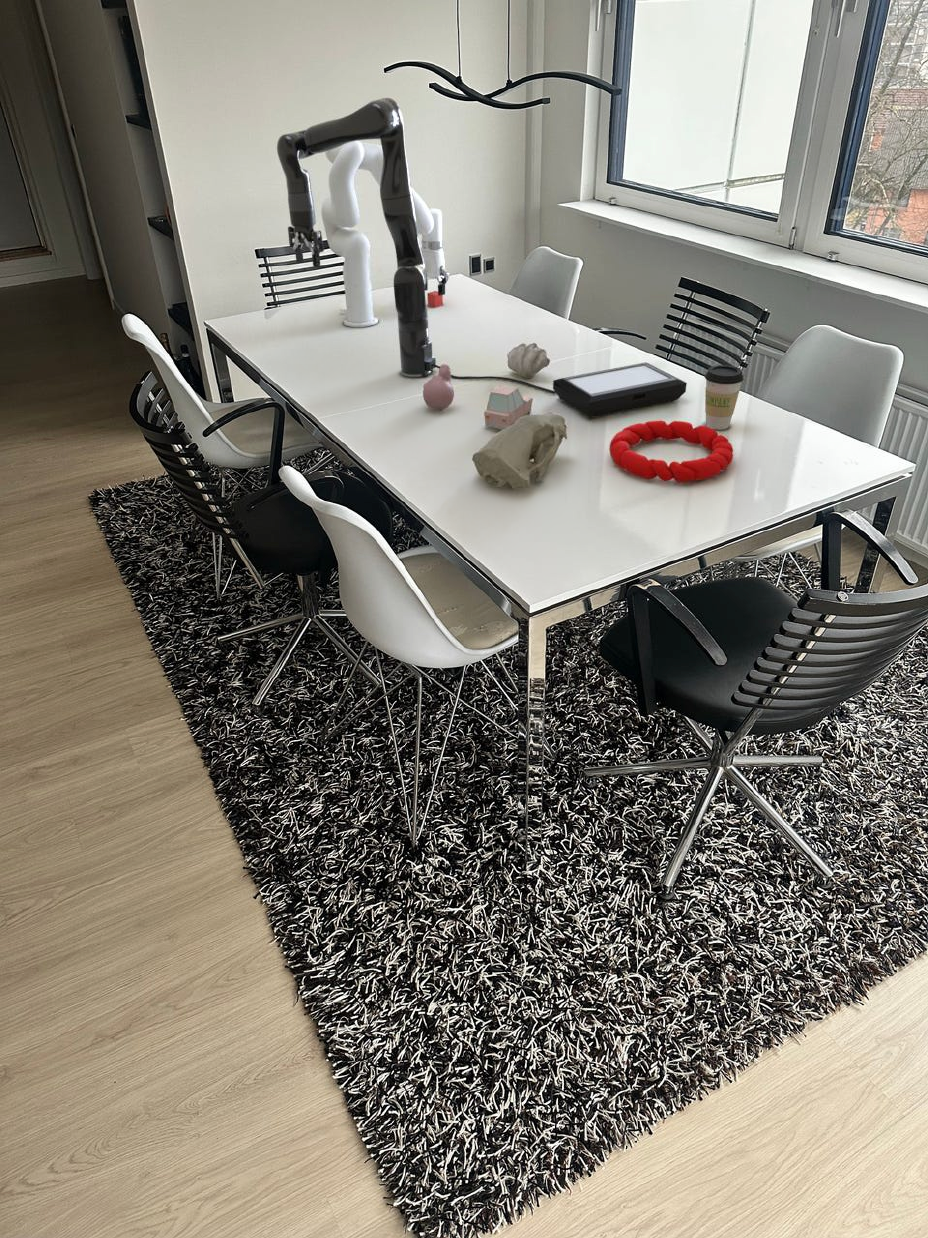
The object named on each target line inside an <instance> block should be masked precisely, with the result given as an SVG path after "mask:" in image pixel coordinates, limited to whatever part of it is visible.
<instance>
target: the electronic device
mask: <svg viewBox="0 0 928 1238" xmlns="http://www.w3.org/2000/svg"><path fill="white" fill-rule="evenodd" d="M552 382H553V383H552V390H553V391H555V392H556V393H555V395H557V397H558V398H559V399H560V400H561V401H562V402H564V403H565V404H567V405H568V406H570V407H572V408H574V409H575V410H577V411H579V412H580V413H581V414H583V415H585V416H586V417H588V418H589V419H592V418H597V417H602V416H606V415H611V414H616V413H622V412H627V411H631V410H636V409H641V408H646V407H651V406H655V405H660V404H661V405H662V404H666V403H669V402H675V401H678V400H679V399H680V398H681V397H682V396H683V395H684V394H685V393H686V392H687V386H688V385H687V384H688V383H687V381H686V382H685V381H684V380H682V379H680V378H678V377H676V376H674V375H672V374H670V373H668V372H666V371H664V370H662V369H660V368H658V367H657V366H655V365H653V364H650V363H649V362H640V363H635V364H631V365H624V366H619V367H615V368H608V369H604V370H598V371H593V372H592V371H591V372H588V373H587V372H586V373H583V374H577V375H572V376H567V377H560V378H556V379H553V381H552Z"/></svg>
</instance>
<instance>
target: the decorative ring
mask: <svg viewBox="0 0 928 1238" xmlns="http://www.w3.org/2000/svg"><path fill="white" fill-rule="evenodd" d="M657 439H662V440H665V441H672V440H678V439H682V440H683V441H685V442H687V443H689V444H692V445H702V447H703V448H704V449H707V450H709V451H710V452H712V453H710V454H709V455H707V456H706V457H702V458H698V459H692V460H691V459H690V460H683V461H681V462H680V463H679V462H678V461H675V460H674V461H671V462H670V463H669V465H668V463H667V461H665V460H663V459H654V458H652V459H648V458H647V456H646V455H642V454H639V453H638V452H637V451H634V450H631V447H634V446H636V445H638V444H639V443H641V441H642V442H652V441H654V440H657ZM733 453H734V448H733V445H732V444H731V442H729V439H728V438H727V437H726V436H725V435H722V434H719V432H718V431H717V430H716V429H711V428H709V427H707V426H706V425H697V426H696V427H693V424H692V423H691V422H688V421H682V420H673V421H671V422H669V424H668V423H667V422H666V421H665V420H659V419H658V420H649V421H646V422H645V423H642V422H639V423H638V422H637V423H634V424H631V425H629V426H627V427H624V428H623V429H622V430H620V431H618V432H617V433H615V434H614V436H613V437H612V438H611V441H610V443H609V454H610V458H611V460H612V461H613V462H614V464H615V465H616V466H618V467H619V468H620V469H621V470H624V471H626V472H627V473H628V474H631V475H633V476H636V477H639V478H642V479H646V480H652V479H655V478H656V477H658V479H660V480H661V481H662V482H669V481H670V480H674V481H675V483H690V482H691V483H692V482H696V481H698V480H700V481H703V480H704V481H705V480H707V479H711V478H713V477H715V476H718V475H719V474H720V473H721V472H723V471H725V470H726V469H727V468H728V466H729V465H731V464H732V462H733V459H734V454H733Z"/></svg>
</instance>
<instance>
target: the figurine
mask: <svg viewBox="0 0 928 1238" xmlns="http://www.w3.org/2000/svg"><path fill="white" fill-rule="evenodd" d="M439 366H440V369H439V368H438V374H437V375H434V376H433V377H431V378H430V379H429V380H428V381H427V382H426V383H424V384H423V386H422V389H423V390H422V398H423V400H424V403H425V404H426V405H427V406H428V407H429V408H431V409H432V410H436V411H440V410H445V409H447V408H448V407H450V406H451V404H452V403H453V402H454V399H455V389H454V387H453V384H452V381H451V379H452V377H451V375H452V371H451V367H450V365H448V364H445V363H442V364H441V365H439Z"/></svg>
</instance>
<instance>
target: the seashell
mask: <svg viewBox="0 0 928 1238" xmlns="http://www.w3.org/2000/svg"><path fill="white" fill-rule="evenodd" d="M506 356H507V367H508V369H510V370H511V371H513V372H515V373H517V374H518V375H519V376H521V377H522V378H526V379H531V378H534V376H536V375H537V374H538V373H539V372H540V371H541V370H543V369H544V368H547V367H548V366H549V365H550V363H551V360H550V358H549V357H548V352H547V350H545V348H544V349H543V348H541V347H540V346H539V345H538V344H537V343H536V342H533V343H530V344H526V343H521V344H519V345H518V346H515V347H513V348H511V350H510V351H508V353H507V355H506Z"/></svg>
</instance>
